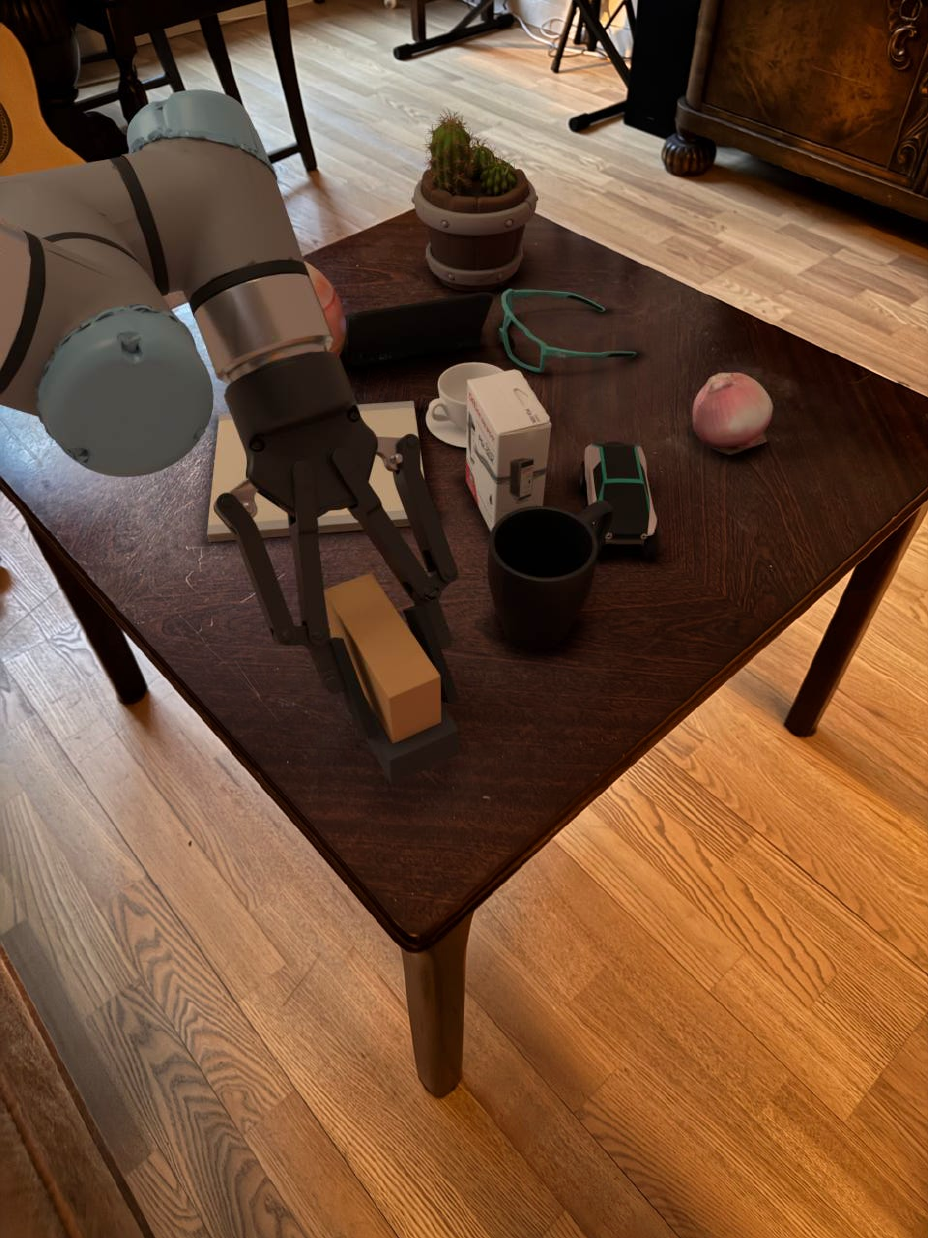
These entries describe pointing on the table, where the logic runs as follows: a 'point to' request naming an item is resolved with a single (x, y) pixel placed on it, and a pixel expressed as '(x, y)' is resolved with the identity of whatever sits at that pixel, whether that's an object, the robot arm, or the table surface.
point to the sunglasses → (545, 349)
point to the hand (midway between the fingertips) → (408, 716)
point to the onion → (732, 413)
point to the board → (274, 521)
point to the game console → (416, 328)
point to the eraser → (392, 679)
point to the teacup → (454, 402)
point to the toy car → (621, 493)
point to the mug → (544, 569)
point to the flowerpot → (472, 210)
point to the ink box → (505, 444)
